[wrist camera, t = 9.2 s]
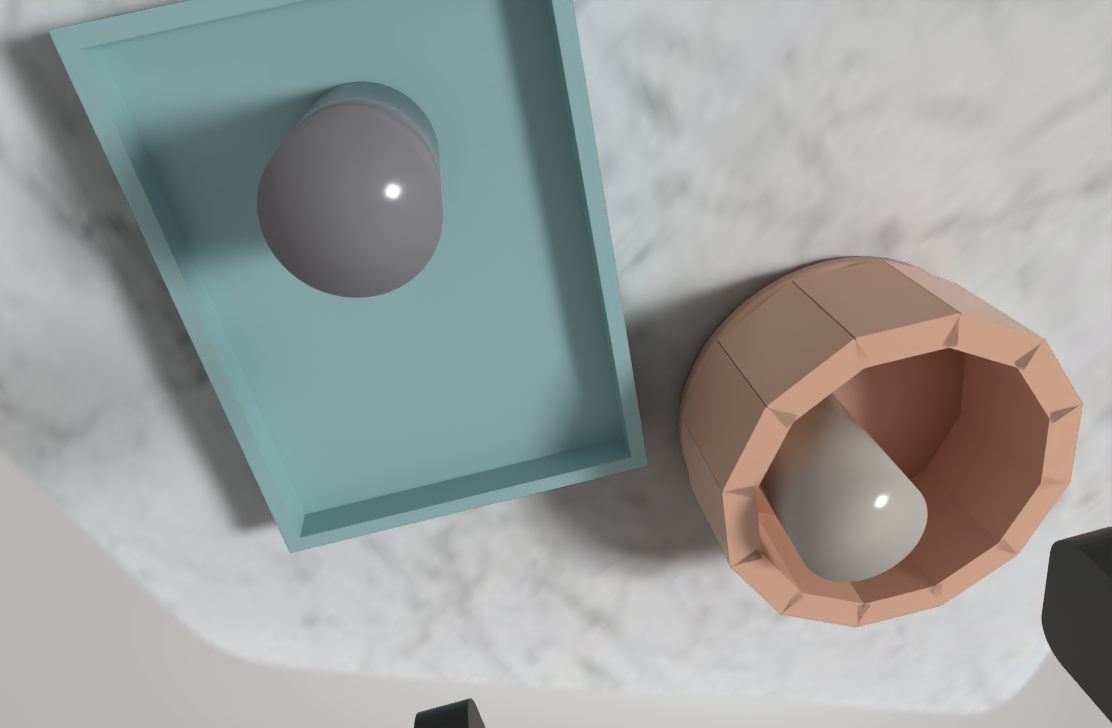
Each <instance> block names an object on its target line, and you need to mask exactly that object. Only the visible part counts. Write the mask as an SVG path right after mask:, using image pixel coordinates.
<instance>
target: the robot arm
mask: <svg viewBox="0 0 1112 728" xmlns="http://www.w3.org/2000/svg"><path fill="white" fill-rule="evenodd" d="M1042 626H1043V630H1044V634H1045V637H1046V639H1047V642H1048V644H1049V646H1050V648H1051V650H1052V651H1053V653H1054V655H1055V656H1056V658H1057V659H1058V661H1059V662H1060V663H1061V665H1062V666H1063V667H1064V668H1065V669H1066V670H1067V672H1068V673H1069V674H1070V675H1071V676H1072V677H1073V678H1074V680H1075V681H1076V682H1077V683H1078V684H1079V685H1080V687H1081V688H1082V689H1083V690H1084V691H1085V692H1086V694H1087V695H1088V696H1089V697H1090V698H1091V699H1092V701H1093V702H1094V703H1095V704H1096V705H1097V706H1098V707H1099V709H1100V710H1101V711H1102V712H1103V713H1104V714H1105V716H1106V717H1107V718H1108V719H1109V720H1110V721H1111V722H1112V527H1107V528H1103V529H1099V530H1096V531H1092V532H1088V533H1085V534H1081V535H1077V536H1074V537H1070V538H1066V539H1063V540H1059V541H1057V542H1055V543H1054V544H1053V546H1052V547H1051V551H1050V558H1049V565H1048V572H1047V580H1046V587H1045V595H1044V602H1043V609H1042ZM414 728H485V726H484V723H483V721H482V719H481V716H480V714H479V711H478V709H477V707H476V704H475V702H474V701H473V700H472V699H471V698H470V699H466V700H463V701H459V702H455V703H451V704H448V705H444V706H440V707H437V708H433V709H429V710H426V711H422V712H419V713H417V715H416V718H415V723H414Z"/></svg>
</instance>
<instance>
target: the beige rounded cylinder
mask: <svg viewBox="0 0 1112 728" xmlns="http://www.w3.org/2000/svg"><path fill="white" fill-rule="evenodd" d="M759 489H760V490H761V492H762V494H763V495H764V497H765V499H766V500H767V502H768V504H769V505H770V507H771V509H772V510H773V512H774V514H775V515H776V517H777V519H778V520H779V522H780V524H781V525H782V527H783V529H784V530H785V532H786V534H787V535H788V537H789V539H790V540H791V542H792V544H793V545H794V547H795V549H796V550H797V552H798V554H799V555H800V557H801V559H802V560H803V562H804V564H805V565H806V566H807V568H808V569H809V570H810V571H812V572H813V573H814V574H816V575H817V576H819V577H821V578H824V579H827V580H830V581H836V582H854V581H860V580H864V579H868V578H871V577H874V576H876V575H879V574H881V573H883V572H885V571H887V570H889V569H890V568H892V567H894V566H895V565H896V564H898V563H899V562H900V561H902V560H903V559H904V558H905V557H906V556H907V555H908V554H909V553H910V552H911V551H912V550H913V549H914V547H915V546H916V545H917V543H918V542H919V540H920V538H921V537H922V534H923V532H924V530H925V527H926V523H927V505H926V502H925V499H924V497H923V495H922V494H921V492H920V491H919V490H918V489H917V488H916V487H915V486H914V484H913V483H912V482H911V481H910V480H909V479H908V478H907V477H906V475H905V474H904V473H903V472H902V471H901V470H900V469H899V468H898V466H897V465H896V464H895V463H894V462H893V461H892V460H891V459H890V457H889V456H888V455H887V454H886V453H885V452H884V451H883V450H882V448H881V447H880V446H879V445H878V444H877V443H876V442H875V441H874V439H873V438H872V437H871V436H870V435H869V434H868V433H867V432H866V430H865V429H864V428H863V427H862V426H861V425H860V424H859V423H858V421H857V420H856V419H855V418H854V417H853V416H852V415H851V414H850V412H849V411H848V410H847V409H846V408H845V407H844V406H843V405H842V403H841V402H840V401H839V400H838V399H837V398H836V397H835V396H834V394H833V393H831V394H830V395H828V396H827V397H826V398H824V399H823V400H822V401H820V402H819V403H818V404H817V405H815V406H814V407H813V408H811V409H810V410H809V411H807V412H806V413H805V414H803V415H802V416H801V417H799V418H798V419H797V420H795V421H794V422H793V423H792V425H791V427H790V429H789V431H788V433H787V434H786V436H785V438H784V440H783V442H782V444H781V446H780V447H779V449H778V451H777V453H776V455H775V457H774V459H773V461H772V462H771V464H770V466H769V468H768V470H767V472H766V474H765V475H764V477H763V479H762V481H761V483H760V485H759Z"/></svg>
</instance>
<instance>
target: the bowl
mask: <svg viewBox="0 0 1112 728" xmlns="http://www.w3.org/2000/svg"><path fill="white" fill-rule="evenodd" d="M831 393H833V394H834V396H835V397H836V398H837V399H838V400H839V401H840V402H841V403H842V405H843V406H844V407H845V408H846V409H847V410H848V411H849V412H850V414H851V415H852V416H853V417H854V418H855V419H856V420H857V421H858V423H859V424H860V425H861V426H862V427H863V428H864V429H865V430H866V432H867V433H868V434H869V435H870V436H871V437H872V438H873V439H874V441H875V442H876V443H877V444H878V445H879V446H880V447H881V448H882V450H883V451H884V452H885V453H886V454H887V455H888V456H889V457H890V459H891V460H892V461H893V462H894V463H895V464H896V465H897V466H898V468H899V469H900V470H901V471H902V472H903V473H904V474H905V475H906V477H907V478H908V479H909V480H910V481H911V482H912V483H913V484H914V486H915V487H916V488H917V489H918V490H919V491H920V492H921V494H922V495H923V497H924V499H925V502H926V505H927V523H926V527H925V530H924V532H923V534H922V537H921V538H920V540H919V542H918V543H917V545H916V546H915V547H914V549H913V550H912V551H911V552H910V553H909V554H908V555H907V556H906V557H905V558H904V559H903V560H902V561H900V562H899V563H898V564H896V565H895V566H894V567H892V568H890V569H889V570H887V571H885V572H883V573H881V574H879V575H876V576H874V577H871V578H868V579H864V580H860V581H854V582H836V581H830V580H827V579H824V578H821V577H819V576H817V575H816V574H814V573H813V572H812V571H810V570H809V569H808V568H807V566H806V565H805V564H804V562H803V560H802V559H801V557H800V555H799V554H798V552H797V550H796V549H795V547H794V545H793V544H792V542H791V540H790V539H789V537H788V535H787V534H786V532H785V530H784V529H783V527H782V525H781V524H780V522H779V520H778V519H777V517H776V515H775V514H774V512H773V510H772V509H771V507H770V505H769V504H768V502H767V500H766V499H765V497H764V495H763V494H762V492H761V490H760V489H759V485H760V483H761V481H762V479H763V477H764V475H765V474H766V472H767V470H768V468H769V466H770V464H771V462H772V461H773V459H774V457H775V455H776V453H777V451H778V449H779V447H780V446H781V444H782V442H783V440H784V438H785V436H786V434H787V433H788V431H789V429H790V427H791V425H792V423H793V422H794V421H795V420H797V419H798V418H799V417H801V416H802V415H803V414H805V413H806V412H807V411H809V410H810V409H811V408H813V407H814V406H815V405H817V404H818V403H819V402H820V401H822V400H823V399H824V398H826V397H827V396H828V395H830V394H831ZM1082 407H1083V404H1082V401H1081V399H1080V398H1079V396H1078V394H1077V392H1076V391H1075V389H1074V387H1073V386H1072V384H1071V382H1070V381H1069V379H1068V377H1067V376H1066V374H1065V372H1064V370H1063V369H1062V367H1061V365H1060V364H1059V362H1058V360H1057V359H1056V357H1055V355H1054V354H1053V352H1052V350H1051V348H1050V347H1049V345H1048V343H1047V342H1046V340H1045V339H1044V338H1042V337H1041V336H1039V335H1037V334H1036V333H1034V332H1033V331H1031V330H1029V329H1028V328H1026V327H1025V326H1023V325H1021V324H1020V323H1018V322H1017V321H1015V320H1014V319H1012V318H1010V317H1009V316H1007V315H1006V314H1004V313H1002V312H1001V311H999V310H998V309H996V308H995V307H993V306H991V305H990V304H988V303H987V302H985V301H983V300H982V299H980V298H979V297H977V296H975V295H974V294H972V293H971V292H969V291H968V290H966V289H964V288H963V287H961V286H960V285H958V284H956V283H954V282H951V281H948V280H945V279H942V278H938V277H935V276H932V275H931V274H929V273H928V272H926V271H924V270H923V269H920V268H918V267H915V266H913V265H911V264H908V263H905V262H901V261H897V260H893V259H889V258H880V257H869V256H866V257H846V258H840V259H834V260H828V261H824V262H820V263H817V264H814V265H810V266H807V267H804V268H801V269H799V270H797V271H794V272H792V273H790V274H787V275H785V276H783V277H781V278H779V279H778V280H776V281H774V282H772V283H771V284H769V285H767V286H765V287H763V288H762V289H761V290H759V291H758V292H757V293H755V294H754V295H752V296H751V297H750V298H748V299H747V300H745V301H744V302H743V303H742V304H741V305H740V306H739V307H738V308H736V309H735V310H734V311H733V312H732V313H731V314H730V315H729V316H728V317H727V318H726V319H725V320H724V321H723V322H722V323H721V325H720V326H719V327H718V328H717V329H716V330H715V331H714V333H713V334H712V335H711V337H710V338H709V340H708V341H707V342H706V344H705V345H704V347H703V348H702V350H701V351H700V353H699V355H698V357H697V359H696V361H695V363H694V364H693V366H692V368H691V371H690V373H689V376H688V378H687V381H686V384H685V386H684V390H683V394H682V399H681V403H680V410H679V421H678V425H679V441H680V445H681V450H682V454H683V458H684V460H685V463H686V465H687V468H688V473H689V480H690V486H691V488H692V490H693V492H694V494H695V496H696V498H697V500H698V502H699V504H700V506H701V508H702V510H703V513H704V515H705V517H706V519H707V521H708V523H709V525H710V527H711V529H712V531H713V533H714V535H715V537H716V539H717V541H718V543H719V545H720V547H721V549H722V551H723V553H724V555H725V557H726V559H727V561H728V563H729V565H730V567H731V568H732V569H733V570H734V571H735V572H736V573H737V574H738V575H739V576H740V577H741V578H742V579H743V580H744V581H745V582H746V583H748V584H749V585H750V586H751V587H752V588H753V589H754V590H755V591H756V592H757V593H758V594H759V595H760V596H761V597H762V598H763V599H765V600H766V601H767V602H768V603H769V604H770V605H771V606H772V607H773V608H774V609H775V610H776V611H777V612H778V613H779V614H781V615H786V616H792V617H798V618H804V619H810V620H816V621H822V622H828V623H834V624H840V625H846V626H852V627H860V626H864V625H868V624H872V623H876V622H880V621H884V620H887V619H891V618H895V617H899V616H903V615H907V614H911V613H915V612H919V611H923V610H927V609H931V608H935V607H939V606H941V605H943V604H945V603H946V602H948V601H949V600H951V599H952V598H954V597H955V596H957V595H958V594H960V593H961V592H963V591H964V590H966V589H967V588H969V587H970V586H972V585H973V584H975V583H976V582H978V581H979V580H981V579H982V578H984V577H985V576H987V575H988V574H990V573H991V572H993V571H994V570H996V569H997V568H999V567H1000V566H1002V565H1003V564H1005V563H1006V562H1008V561H1009V560H1011V559H1012V558H1014V557H1015V556H1017V554H1019V552H1020V551H1021V550H1022V548H1023V547H1024V546H1025V544H1026V543H1027V541H1028V540H1029V539H1030V537H1031V536H1032V535H1033V533H1034V532H1035V530H1036V529H1037V528H1038V526H1039V525H1040V524H1041V522H1042V521H1043V519H1044V518H1045V517H1046V515H1047V514H1048V513H1049V511H1050V510H1051V508H1052V507H1053V506H1054V504H1055V503H1056V502H1057V500H1058V499H1059V497H1060V496H1061V495H1062V493H1063V492H1064V491H1065V489H1066V488H1067V486H1068V485H1069V484H1070V483H1069V482H1071V476H1072V470H1073V463H1074V457H1075V451H1076V444H1077V438H1078V432H1079V426H1080V419H1081V413H1082Z"/></svg>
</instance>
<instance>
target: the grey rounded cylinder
mask: <svg viewBox="0 0 1112 728" xmlns="http://www.w3.org/2000/svg"><path fill="white" fill-rule="evenodd" d="M257 212H258V218H259V224H260V227H261V230H262V233H263V236H264V238H265V240H266V242H267V245H268V246H269V248H270V250H271V251H272V253H273V254H274V256H275V257H276V258H277V260H278V261H279V262H280V263H281V264H282V265H283V266H284V267H285V268H286V269H287V270H288V271H289V272H290V273H291V274H292V275H294V276H295V277H296V278H297V279H299V280H300V281H302V282H304V283H305V284H307V285H309V286H310V287H313V288H315V289H317V290H319V291H322V292H325V293H328V294H331V295H336V296H341V297H350V298H364V297H372V296H378V295H381V294H385V293H388V292H391V291H393V290H395V289H398V288H400V287H401V286H403V285H405V284H406V283H408V282H409V281H411V280H412V279H413V278H414V277H416V276H417V275H418V274H419V273H420V272H421V271H422V270H423V269H424V268H425V266H426V265H427V263H428V262H429V261H430V259H431V258H432V256H433V254H434V252H435V250H436V248H437V245H438V242H439V240H440V236H441V231H442V224H443V207H442V192H441V177H440V161H439V148H438V143H437V138H436V135H435V132H434V130H433V127H432V125H431V123H430V121H429V120H428V118H427V117H426V115H425V113H424V112H423V111H422V110H421V109H420V107H419V106H418V105H417V104H416V103H415V102H413V101H412V100H411V99H410V98H409V97H407V96H406V95H405V94H403V93H401V92H400V91H398V90H396V89H394V88H392V87H389V86H387V85H383V84H379V83H375V82H367V81H356V82H349V83H345V84H341V85H338V86H335V87H333V88H331V89H329V90H327V91H326V92H324V93H323V94H321V95H320V96H319V97H318V98H317V99H315V100H314V101H313V102H312V104H311V105H310V106H309V107H308V108H307V110H306V111H305V112H304V114H303V115H302V116H301V118H300V119H299V121H298V122H297V123H296V125H295V126H294V127H293V129H292V130H291V131H290V133H289V134H288V135H287V137H286V138H285V139H284V141H283V142H282V144H281V145H280V146H279V148H278V149H277V150H276V152H275V153H274V154H273V156H272V157H271V159H270V160H269V162H268V164H267V165H266V167H265V170H264V172H263V174H262V177H261V180H260V184H259V188H258V196H257Z"/></svg>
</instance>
